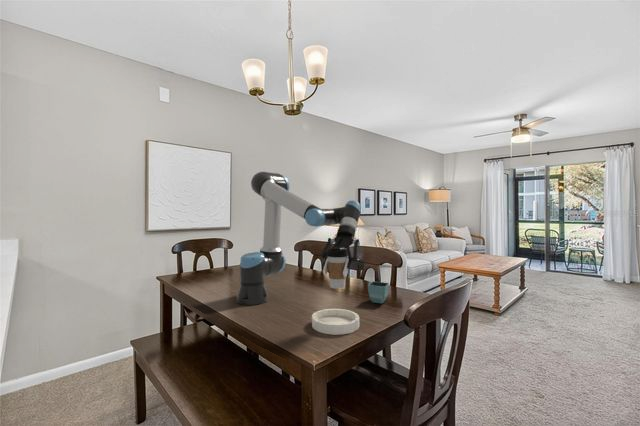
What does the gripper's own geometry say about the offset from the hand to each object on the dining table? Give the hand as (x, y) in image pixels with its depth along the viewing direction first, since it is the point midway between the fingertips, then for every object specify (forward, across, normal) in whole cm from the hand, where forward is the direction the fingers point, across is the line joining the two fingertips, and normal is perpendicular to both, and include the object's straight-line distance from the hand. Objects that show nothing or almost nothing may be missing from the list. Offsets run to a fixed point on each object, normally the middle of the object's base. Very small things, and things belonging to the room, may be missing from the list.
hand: (334, 274), depth 120 cm
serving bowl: (+13, 0, -16) cm, 20 cm away
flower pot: (-13, -9, -42) cm, 45 cm away
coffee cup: (+2, 0, -7) cm, 7 cm away
